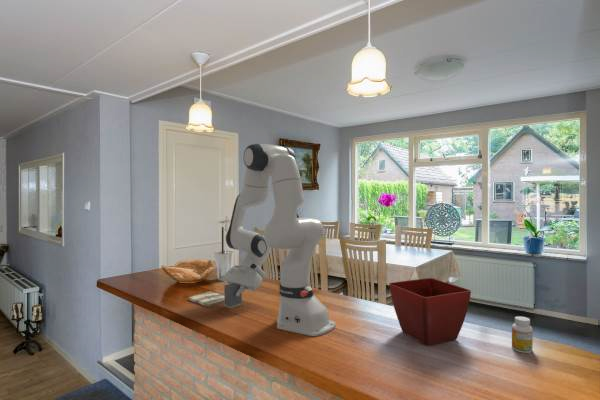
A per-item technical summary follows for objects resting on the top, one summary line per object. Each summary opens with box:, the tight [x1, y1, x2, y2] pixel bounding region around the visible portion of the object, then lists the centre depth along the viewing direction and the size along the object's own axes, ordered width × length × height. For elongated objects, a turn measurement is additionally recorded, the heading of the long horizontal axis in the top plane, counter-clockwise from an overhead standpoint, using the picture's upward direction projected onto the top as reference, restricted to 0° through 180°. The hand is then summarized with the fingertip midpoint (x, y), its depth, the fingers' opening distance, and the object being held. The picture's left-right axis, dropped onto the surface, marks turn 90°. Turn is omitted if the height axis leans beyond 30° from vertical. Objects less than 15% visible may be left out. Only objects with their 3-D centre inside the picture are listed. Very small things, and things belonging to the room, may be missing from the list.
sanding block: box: [223, 283, 243, 309], centre depth 152 cm, size 4×6×9 cm
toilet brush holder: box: [214, 226, 234, 282], centre depth 196 cm, size 11×11×30 cm
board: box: [187, 290, 225, 308], centre depth 160 cm, size 16×12×1 cm
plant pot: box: [388, 277, 472, 346], centre depth 119 cm, size 19×19×17 cm
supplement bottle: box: [511, 316, 534, 354], centre depth 109 cm, size 5×5×10 cm
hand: (231, 294), depth 151 cm, fingers closed on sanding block, 4 cm apart
